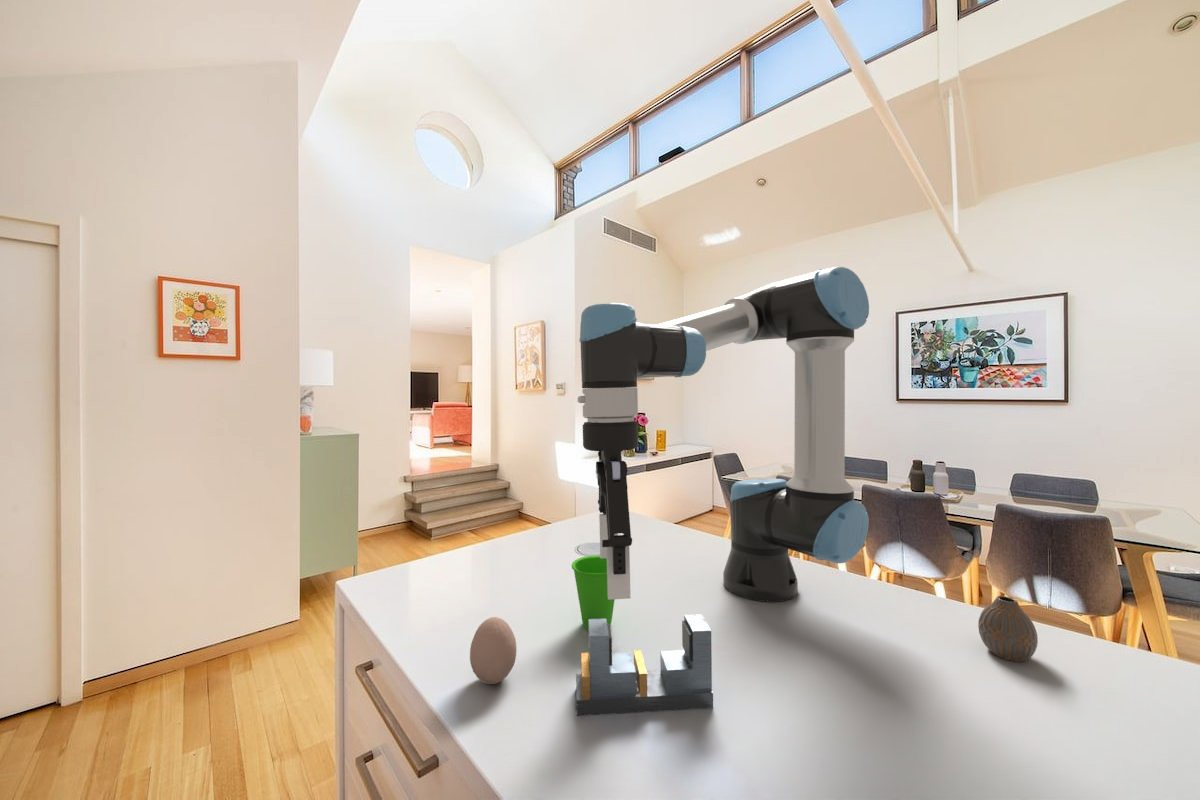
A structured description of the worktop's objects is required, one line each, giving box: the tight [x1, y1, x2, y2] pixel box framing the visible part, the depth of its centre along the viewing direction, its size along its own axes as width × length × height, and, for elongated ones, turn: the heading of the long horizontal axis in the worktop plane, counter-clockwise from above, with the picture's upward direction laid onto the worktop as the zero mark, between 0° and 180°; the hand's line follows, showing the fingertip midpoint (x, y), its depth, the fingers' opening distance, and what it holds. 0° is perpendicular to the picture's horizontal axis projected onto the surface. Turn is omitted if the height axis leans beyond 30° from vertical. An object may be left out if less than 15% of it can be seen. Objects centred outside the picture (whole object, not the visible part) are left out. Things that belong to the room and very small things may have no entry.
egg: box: [469, 616, 517, 685], centre depth 65 cm, size 7×7×9 cm
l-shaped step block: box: [588, 619, 636, 697], centre depth 61 cm, size 6×4×8 cm
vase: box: [977, 595, 1039, 662], centre depth 71 cm, size 7×7×9 cm
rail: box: [575, 613, 714, 717], centre depth 61 cm, size 18×6×10 cm, turn 94°
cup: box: [571, 554, 616, 631], centre depth 81 cm, size 9×9×11 cm
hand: (613, 575), depth 61 cm, fingers open, 13 cm apart
